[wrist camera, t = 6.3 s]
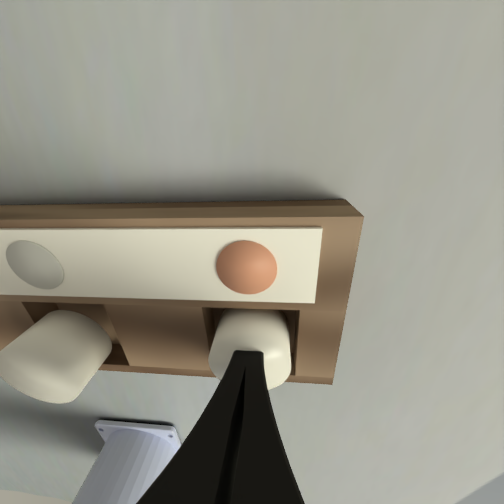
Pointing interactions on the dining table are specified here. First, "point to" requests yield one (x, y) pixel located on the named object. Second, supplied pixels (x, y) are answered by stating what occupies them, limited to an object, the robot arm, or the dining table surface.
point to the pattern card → (163, 263)
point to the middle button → (55, 356)
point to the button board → (198, 311)
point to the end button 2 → (253, 341)
